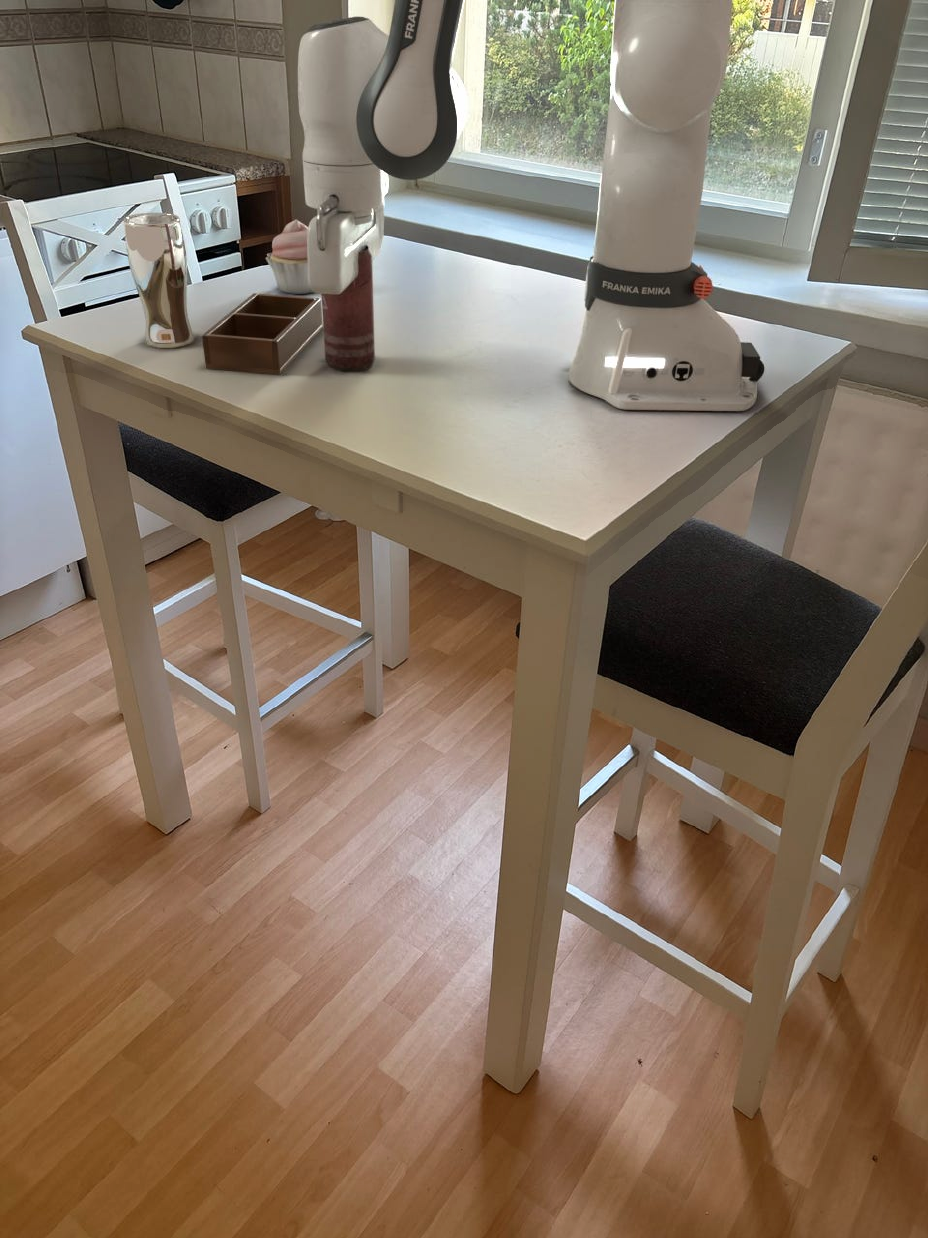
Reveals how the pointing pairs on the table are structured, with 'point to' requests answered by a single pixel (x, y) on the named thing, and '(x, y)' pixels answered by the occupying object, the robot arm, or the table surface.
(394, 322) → the table surface
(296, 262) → the cupcake
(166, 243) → the beer glass
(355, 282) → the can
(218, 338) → the tray
